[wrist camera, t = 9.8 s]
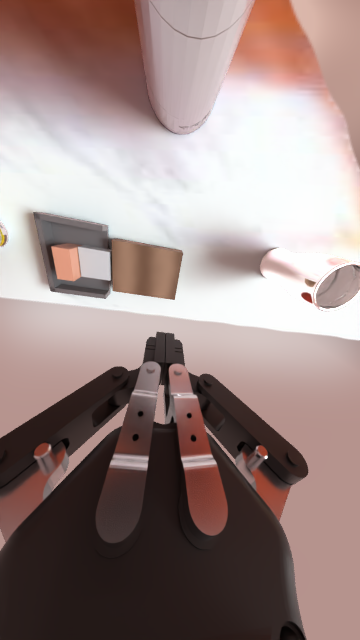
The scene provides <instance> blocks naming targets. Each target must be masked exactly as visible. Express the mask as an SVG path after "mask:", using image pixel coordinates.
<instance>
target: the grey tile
mask: <svg viewBox="0 0 360 640" xmlns="http://www.w3.org/2000/svg"><path fill="white" fill-rule="evenodd" d="M78 253H79V261H80V270H81V276H82V277H88V278H95V279H102V280H109V281H110V280H111V279H112V250H110V249H104V248H99V247H93V246H87V245H82V246H79V247H78Z"/></svg>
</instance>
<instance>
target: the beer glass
mask: <svg viewBox="0 0 360 640" xmlns="http://www.w3.org/2000/svg"><path fill="white" fill-rule="evenodd" d="M260 271H261V274H262V275H263V276H264V277H266V278H268V279H273V280H276V281H277V282H278V283H279V284H280V285H281V286H282V287H283V288H284V289H285V290H286V291H287V292H289V293H290V294H291V295H292V296H294V297H296V298H297V299H299V300H301V301H303V302H305V303H307V304H309V305H311V306H314V307H316V308H318V309H320V310H322V311H332V310H336V309H339V308H341V307H343V306H345V305H347V304H348V303H350V302H351V301H352V300H354V299H355V298H356V297H357V296H358V295H359V293H360V263H358V262H354V261H350V260H347V259H344V258H341V257H337V256H333V255H328V254H322V253H291V252H289V251H288V250H286V249H284V248H275V249H272V250H271V251H269V252H268V253H267V254H266V255H265V256H264V257H263V259H262V261H261V264H260Z"/></svg>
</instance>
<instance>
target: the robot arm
mask: <svg viewBox="0 0 360 640" xmlns="http://www.w3.org/2000/svg"><path fill="white" fill-rule="evenodd" d="M254 3H255V0H134V4H135V10H136V17H137V24H138V30H139V37H140V44H141V50H142V57H143V65H144V71H145V77H146V84H147V90H148V96H149V99H150V102H151V106H152V108H153V110H154V112H155V114H156V116H157V117H158V119H159V120H160V122H161V123H162V124H163V125H164V126H165V127H166V128H167V129H169V130H170V131H172V132H174V133H178V134H189V133H191V132H194V131H195V130H197V129H198V128H200V127H201V126H202V125H203V124H204V122H205V121H206V120H207V118H208V116H209V115H210V113H211V111H212V108H213V106H214V103H215V101H216V98H217V96H218V93H219V91H220V89H221V86H222V84H223V81H224V79H225V76H226V73H227V71H228V68H229V66H230V63H231V61H232V58H233V56H234V53H235V51H236V48H237V46H238V43H239V41H240V38H241V36H242V33H243V30H244V28H245V25H246V23H247V20H248V18H249V15H250V13H251V10H252V8H253V5H254ZM160 384H161V385H164V394H163V397H164V414H165V424H159V423H156V422H154V416H155V409H156V402H157V393H158V387H159V385H160ZM127 403H129V405H128V408H127V412H126V415H125V418H124V422H123V425H122V426H121V427H119V428H117V429H115V430H114V431H112V432H111V433H110V434H108V435H107V436H106V437H105V438H104V439H103V440H102V441H101V442H100V443H99V444H98V445H97V446H96V447H95V448H94V449H93V450H92V451H91V452H90V453H89V454H88V455H87V456H86V457H85V459H83V461H82V462H81V463H80V464H79V465H78V466H77V467H76V468H75V469H74V470H73V471H72V472H71V473H70V474H69V475H68V476H67V477H66V478H65V479H64V480H63V481H62V482H61V483H60V484H59V485H58V486H57V487H56V488H55V489H54V490H53V488H54V486H55V485H56V483H57V482H58V481H59V480H60V479H61V478H62V476H63V475H64V474H65V472H66V470H67V468H68V464H69V456H70V455H72V454H73V453H74V452H75V451H76V450H77V449H78V448H79V447H81V446H82V445H83V444H84V443H85V442H86V441H87V440H88V439H89V438H90V437H92V436H93V435H94V434H95V433H96V432H97V431H98V430H99V429H100V428H102V427H103V426H104V425H105V424H106V423H107V422H108V421H109V420H110V419H112V418H113V417H114V416H115V415H116V414H117V413H118V412H119V411H120V410H122V409H123V408H124V407H125V406H126V404H127ZM204 424H205V425H206V427H207V428H208V429H209V430H210V431H211V432H212V433H213V435H214V436H215V437H216V438H217V439H218V440H219V441H220V443H221V444H222V445H223V446H224V447H225V448H226V449H227V451H228V452H229V453H230V454H231V455H232V456H233V457H234V459H235V462H236V466H235V465H234V463H233V462H232V461H231V460H230V458H229V457H228V456H227V455H226V453H225V452H224V451H223V450H222V449H221V447H220V446H219V445H218V444H217V442H216V441H215V440H214V439H213V438H212V437H211V436H210V435H209V434H208V433H207V432H206V429H205V425H204ZM307 475H308V467H307V463H306V461H305V459H304V458H303V456H302V455H301V454H300V453H299V451H298V450H297V449H296V448H294V447H293V446H292V445H291V444H290V443H289V442H288V441H286V440H285V439H284V438H283V437H282V436H281V435H279V434H278V433H277V432H276V431H275V430H274V429H273V428H272V427H270V426H269V425H268V424H267V423H266V422H265V421H264V420H262V419H261V418H260V417H259V416H258V415H257V414H256V413H255V412H253V411H252V410H251V409H250V408H249V407H248V406H247V405H245V404H244V403H243V402H242V401H241V400H240V399H238V398H237V397H236V396H235V395H234V394H233V393H232V392H231V391H229V390H228V389H227V388H226V387H225V386H224V385H223V384H221V383H220V382H219V381H218V380H217V379H216V378H214V377H213V376H212V375H210V374H202V375H200V377H198V376H195V375H193V374H191V373H189V372H188V370H187V369H186V367H185V363H184V355H183V347H182V343H181V342H180V340H174V334H172V333H166V334H165V333H163V332H157V334H156V338H155V337H149V339H148V340H147V342H146V348H145V354H144V360H143V364H142V365H141V367H139V368H138V369H136V370H131V371H128V370H127V369H126V368H124V367H113V368H111V369H110V370H108V371H106V372H105V373H103V374H102V375H100V376H98V377H97V378H96V379H94V380H92V381H91V382H89V383H87V384H86V385H84V386H83V387H81V388H79V389H78V390H76V391H75V392H73V393H72V394H70V395H68V396H67V397H65V398H64V399H62V400H60V401H59V402H57V403H56V404H54V405H52V406H51V407H49V408H48V409H46V410H45V411H43V412H41V413H40V414H38V415H37V416H35V417H33V418H32V419H30V420H29V421H27V422H25V423H24V424H22V425H21V426H19V427H18V428H16V429H14V430H13V431H11V432H10V433H8V434H7V435H5V436H3V437H2V438H0V529H1V532H2V534H3V537H4V540H5V542H6V543H5V545H4V546H3V548H2V549H1V551H0V640H307V639H306V636H305V633H304V629H303V625H302V620H301V616H300V611H299V606H298V600H297V594H296V587H295V576H294V564H293V558H292V554H291V550H290V546H289V543H288V540H287V537H286V535H285V533H284V530H283V528H282V526H281V524H280V522H279V521H280V518H281V515H282V512H283V509H284V506H285V502H286V500H287V497H288V494H289V491H290V488H291V486H293V485H294V484H296V483H297V482H298V481H300V480H302V479H303V478H305V477H306V476H307ZM52 490H53V491H52Z"/></svg>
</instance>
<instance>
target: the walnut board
mask: <svg viewBox="0 0 360 640" xmlns="http://www.w3.org/2000/svg"><path fill="white" fill-rule="evenodd" d="M182 255H183V252H182V251H181V250H176V249H171V248H165V247H160V246H155V245H149V244H144V243H139V242H133V241H128V240H123V239H118V238H116V239H113V240H112V278H113V291H116V292H123V293H130V294H137V295H144V296H151V297H158V298H165V299H172V300H175V294H176V289H177V283H178V278H179V272H180V266H181V261H182Z"/></svg>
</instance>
